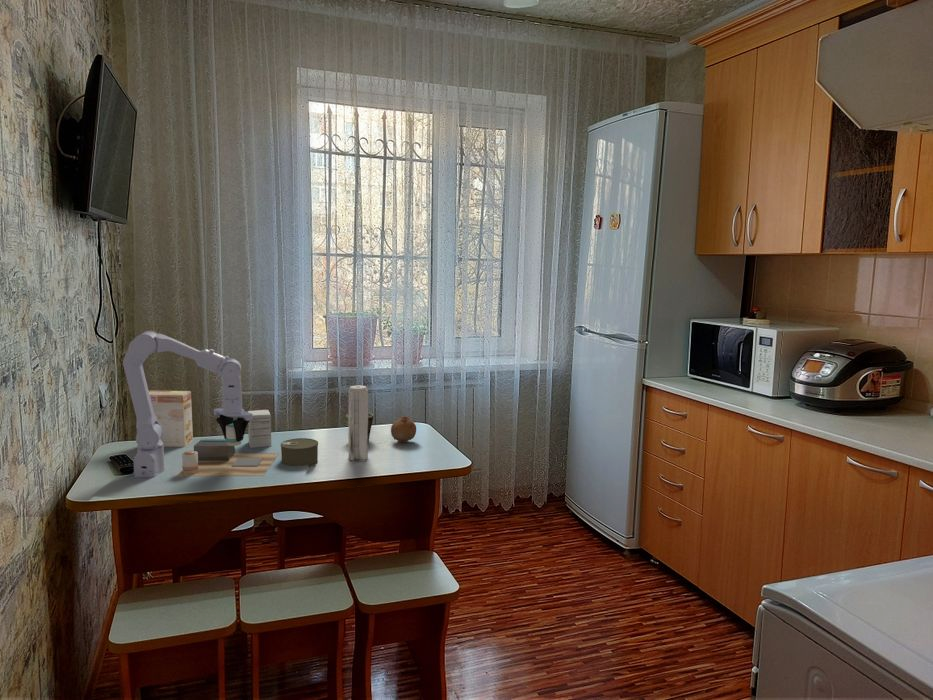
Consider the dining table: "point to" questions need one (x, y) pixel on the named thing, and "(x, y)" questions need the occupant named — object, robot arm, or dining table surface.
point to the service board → (228, 470)
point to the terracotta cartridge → (190, 462)
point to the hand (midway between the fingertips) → (233, 439)
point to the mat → (247, 462)
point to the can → (299, 452)
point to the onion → (403, 429)
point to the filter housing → (214, 450)
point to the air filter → (358, 422)
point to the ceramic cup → (370, 420)
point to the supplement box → (259, 429)
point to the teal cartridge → (231, 436)
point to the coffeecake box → (173, 416)
